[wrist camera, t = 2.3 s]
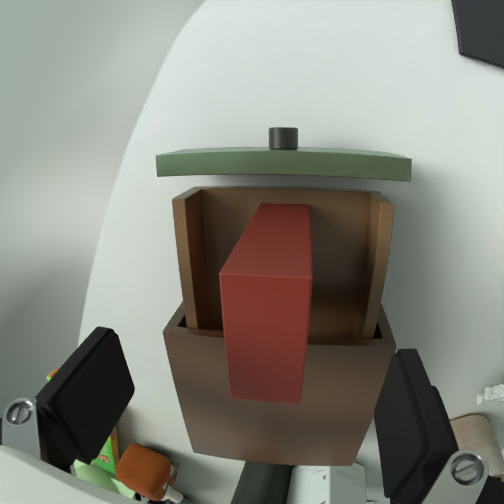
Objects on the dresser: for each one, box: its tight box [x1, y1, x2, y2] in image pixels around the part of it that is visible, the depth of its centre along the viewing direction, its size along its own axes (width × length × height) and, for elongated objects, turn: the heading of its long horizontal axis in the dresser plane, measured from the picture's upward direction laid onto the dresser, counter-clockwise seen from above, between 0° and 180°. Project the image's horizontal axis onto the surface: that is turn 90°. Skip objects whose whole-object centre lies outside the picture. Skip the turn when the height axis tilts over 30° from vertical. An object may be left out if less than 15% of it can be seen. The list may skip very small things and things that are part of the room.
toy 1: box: [74, 459, 144, 502], centre depth 37 cm, size 20×19×15 cm
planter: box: [450, 415, 504, 482], centre depth 23 cm, size 11×11×10 cm
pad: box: [451, 0, 504, 68], centre depth 12 cm, size 9×8×1 cm
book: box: [219, 203, 313, 404], centre depth 16 cm, size 6×3×10 cm, turn 2°
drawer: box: [156, 127, 412, 339], centre depth 19 cm, size 15×13×4 cm
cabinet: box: [163, 302, 396, 466], centre depth 24 cm, size 15×15×6 cm
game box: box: [47, 369, 120, 474], centre depth 36 cm, size 3×10×20 cm
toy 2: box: [115, 443, 183, 503], centre depth 35 cm, size 9×7×15 cm
